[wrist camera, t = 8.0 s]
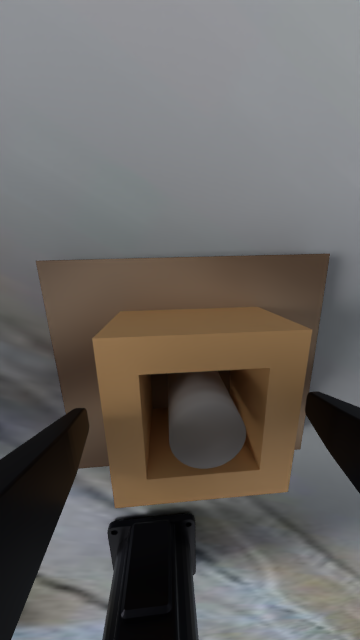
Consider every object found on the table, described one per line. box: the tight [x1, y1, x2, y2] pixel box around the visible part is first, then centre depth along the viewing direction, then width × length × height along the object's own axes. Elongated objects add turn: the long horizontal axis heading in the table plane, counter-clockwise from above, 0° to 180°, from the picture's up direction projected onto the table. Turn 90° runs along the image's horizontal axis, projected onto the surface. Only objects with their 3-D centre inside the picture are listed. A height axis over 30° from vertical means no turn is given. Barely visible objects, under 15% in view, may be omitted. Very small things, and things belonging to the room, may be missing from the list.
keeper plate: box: [36, 254, 330, 469], centre depth 10 cm, size 12×14×6 cm
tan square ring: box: [92, 307, 312, 508], centre depth 9 cm, size 7×7×4 cm
